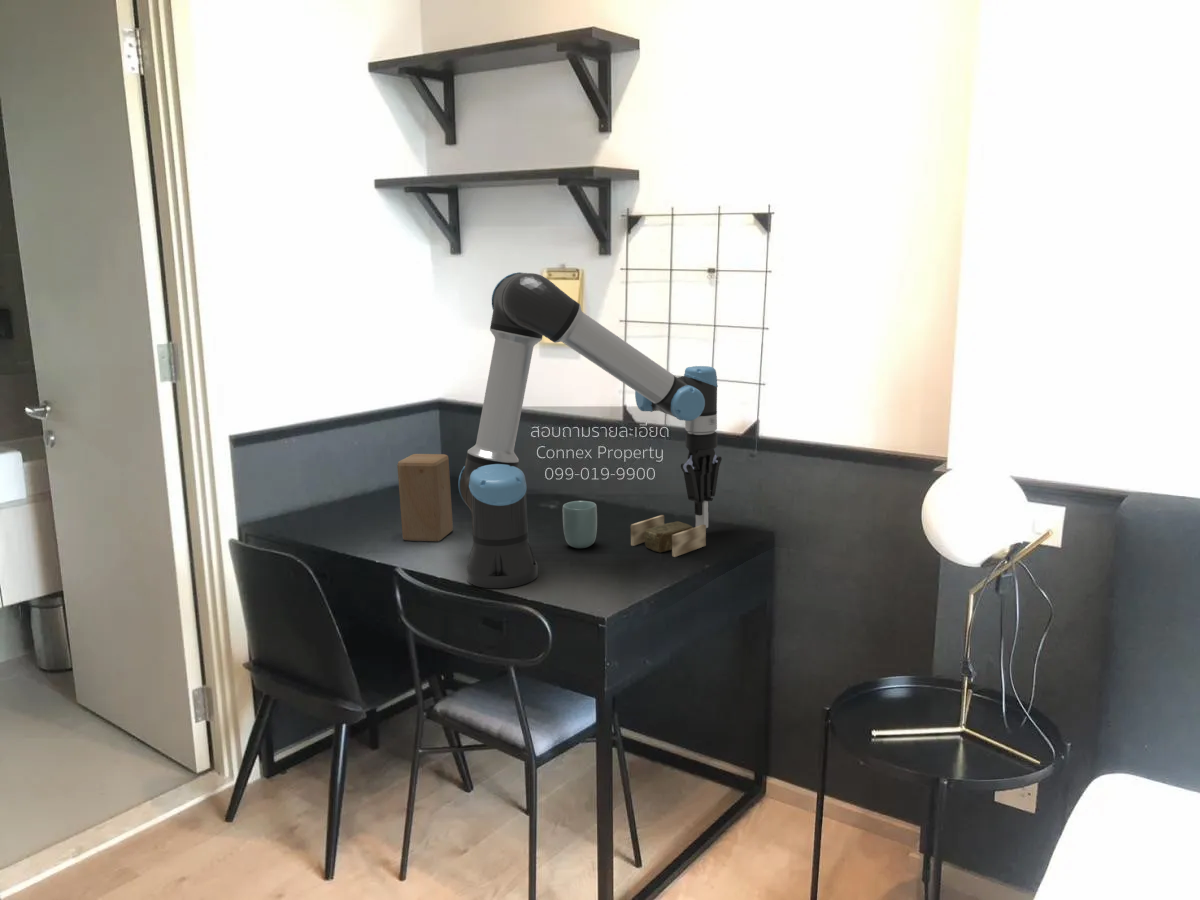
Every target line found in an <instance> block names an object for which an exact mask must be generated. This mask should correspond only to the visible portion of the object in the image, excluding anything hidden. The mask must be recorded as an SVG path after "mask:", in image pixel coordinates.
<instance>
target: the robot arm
mask: <svg viewBox="0 0 1200 900" xmlns="http://www.w3.org/2000/svg"><path fill="white" fill-rule="evenodd" d="M491 307H492V314H491V319H490V327H489V331H490V332H491V334H492V335H493V337H494V343H493V349H492V355H491V360H490V365H489V371H488V376H487V380H486V381H487V382H486V387H485V392H484V397H483V398H484V399H483V402H482V403H483V404H482V408H481V413H480V414H481V415H480V419H479V426H478V431H477V436H476V443H475V445H473V446H472V447H471V448H469V449H467V454H466V458H465V464H464V466H463V468H462V469H461V471H460V473H459V476H458V491H459V495H460V497H461V499H462V501H463V502H464V503H465V505H466V506H467V507H468V509H469V511H470V512H471V525H472V526H471V527H472V530H471V531H472V540H473V541H472V547H471V552H470V555H469V560H468V563H467V567H466V580H467V582H468V583H469V584H471V585H472V584H473V586H475V587H479V588H486V589H507V588H508V589H509V588H515V587H519V586H523V585H526V584H529V583H531V582H533V581H534V580H535V579H537V578H538V575H539V572H538V571H539V570H538V568H539V567H538V563H537V560H536V558H535V555H534V552H533V549H532V547H531V544H530V542H529V534H528V528H529V527H528V508H527V507H528V505H527V489H528V488H527V487H528V486H527V481H526V476H525V474H524V471H522V469H520V468H518V467H519V461H520V459H519V458H518V456H517V454H516V453H515V445H516V441H517V435H518V431H519V426H520V421H521V420H520V419H521V414H522V409H523V405H524V399H525V393H526V387H527V383H528V378H529V377H528V376H529V372H530V368H531V361H532V356H533V350H534V347H535V345H537V344H539V342H541V341H542V340H543V337H545V339H548V340H549V341H552V342H553V343H555V344H557V343H563V344H564V345H566V346H567V347H569V348H570V349H572V350H573V351H574V352H576V353H578V354H579V355H581V356H582V357H584V358H585V359H587V360H589V361H590V362H591V363H593V364H594V365H596V366H598V367H599V368H601V369H602V370H603V371H605V372H607V373H608V374H609V375H611V376H612V377H613V378H615V379H617V380H618V381H620V382H622V383H623V384H624V385H626V386H627V387H629V388H630V389H632V390H634V391H635V392H634V395H635V397H634V398H635V403H636V406H637V408H638V409H639V411H641V412H650V413H652V412H660V413H663V414H666V415H669V416H671V417H674V418H676V419H677V420H679V421H684V422H685V423H684V425H685V426H684V427H685V429H684V430H685V431H686V433H685V448H686V449H688V454H687V461H685V463H681V464H680V468H681V471H682V472H683V476H684V477H683V479H684V482H685V487H686V495H687V499H688V500H689V501H691V502H694V515H695V527H697V526H700V525H706V529H707V528H708V529H709V513H710V502H712V501H713V500H714V498H713V497H715V495H716V491H717V485H718V484H717V483H718V477H719V470H720V466H721V463H722V459H723V458H722V456H719V455H716V451H715V450H716V448H717V447H718V433H717V432H716V431H717V429H718V375H717V370H716V369H715V368H714V367H712V366H707V365H705V366H704V365H699V366H697V365H695V366H689V367H686V368H685V369H684V374H683V376H678V377H677V376H675V375H674V374H673V373H671V372H670V371H669V370H667V369H666V368H664V367H662V366H661V365H660V364H659V363H656V362H655V361H654V360H653V359H651V358H650V357H648V356H647V355H646V354H644V353H642V352H641V351H639V350H638V349H637V348H635V347H634V346H633V345H631V344H630V343H628V342H626V341H625V340H624V339H622V338H621V337H620V336H618V335H616V334H615V333H613V332H612V331H610V329H608V328H607V327H605V326H603V325H602V324H601V323H599V322H598V321H596V320H595V319H593V318H592V317H590V316H589V315H587V313H584V312H583V310H582V305H581V304H580V303H578V301H576V300H575V299H573V298H572V297H570V296H569V295H568V294H566V293H565V292H564V291H563V290H562V289H561V288H559V287H558V286H557V285H556V284H555V283H553V282H552V281H551V280H550V279H548V278H547V277H546V276H543V275H541V274H538V273H533V272H531V273H530V272H514V273H513V272H512V273H511V274H507V275H506V276H504V277H503V278H502V279H501V280H500V281H498V283H496V285H495V287H494V289H493V291H492V295H491Z"/></svg>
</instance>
